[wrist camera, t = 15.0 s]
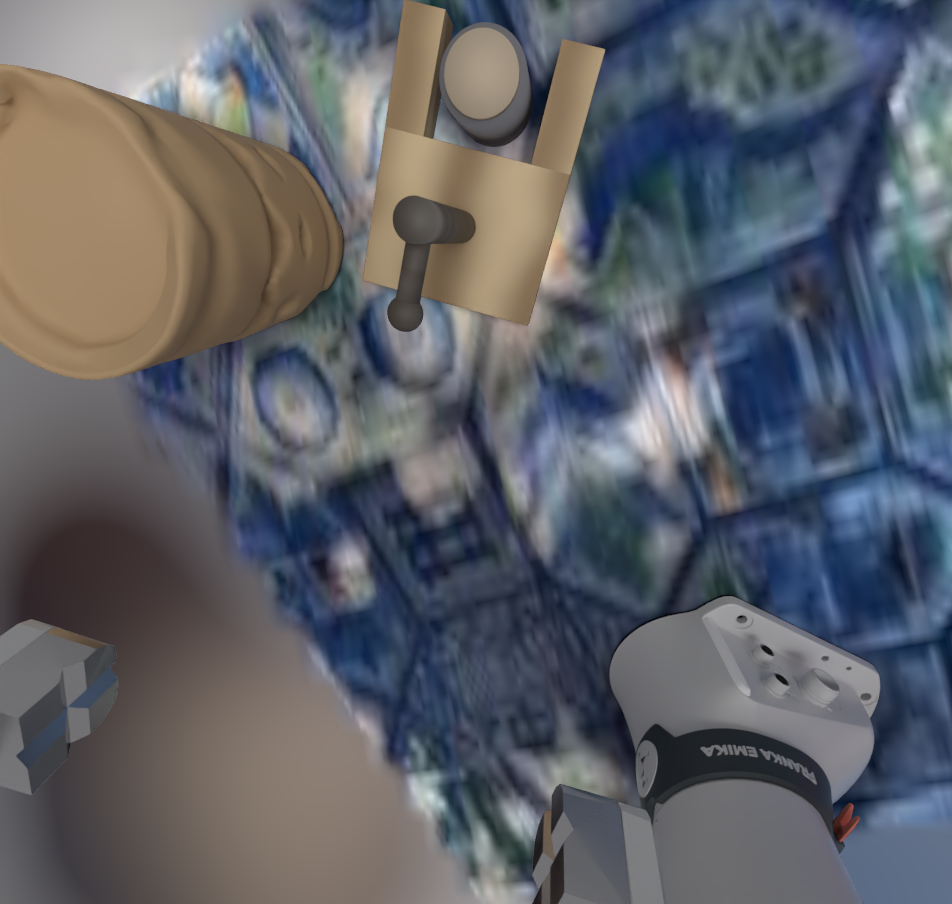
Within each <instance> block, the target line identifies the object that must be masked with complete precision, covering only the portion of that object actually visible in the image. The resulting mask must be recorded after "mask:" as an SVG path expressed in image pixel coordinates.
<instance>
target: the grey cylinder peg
mask: <svg viewBox="0 0 952 904" xmlns="http://www.w3.org/2000/svg"><path fill="white" fill-rule="evenodd" d="M439 83H440V90H441V95H442V98H443V101H444V103H445V105H446V107H447V108H448V110H449V112H450V113H451V114H452V115H453V116H454V118H455V119H456V120H457V121H458V122H459V123H460V125H461V126H462V127H463V128H464V129H465V131H466V132H467V133H468V134H469V135H470V136H471V137H472V138H473V139H474V140H475V141H477V142H478V143H480V144H483V145H486V146H490V147H497V146H503V145H506V144H508V143H510V142H512V141H513V140H515V139H516V138H517V137H518V136H519V135H520V134H521V133H522V132H523V130H524V129H525V127H526V125H527V124H528V121H529V119H530V116H531V112H532V104H533V97H532V90H531V85H530V79H529V74H528V68H527V63H526V58H525V55H524V52H523V50H522V47H521V45H520V44H519V42H518V40H517V39H516V38H515V36H514V35H513V34H512V33H511V32H509V31H508V30H507V29H505V28H504V27H502V26H500V25H497V24H494V23H488V22H482V23H476V24H473V25H470V26H468V27H466V28H464V29H463V30H462V31H460V32H459V33H458V34H457V35H456V36H455V37H454V38H453V39H452V40H451V42H450V43H449V45H448V46H447V48H446V50H445V52H444V55H443V58H442V61H441V65H440V72H439Z"/></svg>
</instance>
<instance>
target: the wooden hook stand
mask: <svg viewBox="0 0 952 904" xmlns="http://www.w3.org/2000/svg"><path fill="white" fill-rule="evenodd" d="M452 31H453V24H452V22H451V20H450V18H449V16H448V14H447V12H446V10H445V9H441V8H437V7H433V6H429V5H425V4H421V3H417V2H413V1H409V0H404V3H403V10H402V17H401V23H400V30H399V37H398V44H397V51H396V57H395V64H394V71H393V78H392V85H391V91H390V98H389V105H388V112H387V119H386V125H385V132H384V139H383V146H382V153H381V159H380V166H379V173H378V180H377V186H376V193H375V200H374V207H373V214H372V220H371V227H370V234H369V241H368V248H367V254H366V261H365V268H364V275H363V281H367V282H371V283H374V284H378V285H382V286H385V287H389V288H392V289H396V290H397V294H396V298H395V299H393V300H392V301H391V303H390V304H389V307H388V311H387V314H388V319H389V321H390V323H391V325H392V326H393V327H394V328H396V329H397V330H399V331H403V332H409V331H412V330H415V329H416V328H417V327H418V326H419V325H420V324H421V322H422V319H423V309H422V306H421V304H420V299H421V296H422V297H425V298H429V299H433V300H436V301H440V302H444V303H447V304H451V305H454V306H458V307H462V308H465V309H469V310H473V311H476V312H480V313H484V314H487V315H491V316H495V317H498V318H502V319H505V320H509V321H513V322H516V323H520V324H524V325H527V326H528V324H529V321H530V317H531V314H532V310H533V307H534V303H535V300H536V296H537V292H538V289H539V285H540V282H541V278H542V275H543V271H544V268H545V264H546V260H547V257H548V253H549V250H550V246H551V243H552V239H553V236H554V232H555V228H556V225H557V221H558V218H559V214H560V211H561V207H562V204H563V200H564V196H565V193H566V189H567V186H568V182H569V179H570V175H571V172H572V168H573V164H574V161H575V157H576V154H577V150H578V147H579V143H580V139H581V136H582V132H583V129H584V125H585V122H586V118H587V115H588V111H589V107H590V104H591V100H592V97H593V93H594V90H595V86H596V83H597V79H598V75H599V72H600V68H601V65H602V61H603V57H604V53H605V49H602V48H598V47H594V46H590V45H586V44H582V43H578V42H574V41H570V40H566V39H563V40H562V44H561V48H560V52H559V56H558V60H557V64H556V68H555V72H554V76H553V80H552V84H551V88H550V92H549V96H548V100H547V103H546V107H545V111H544V115H543V119H542V123H541V127H540V131H539V135H538V139H537V143H536V147H535V151H534V155H533V159H532V163H531V164H527V163H523V162H519V161H515V160H512V159H508V158H504V157H500V156H496V155H492V154H489V153H485V152H481V151H477V150H473V149H469V148H466V147H462V146H458V145H454V144H450V143H446V142H443V141H439V140H435V139H433V136H434V131H435V125H436V120H437V114H438V109H439V103H440V98H441V90H440V83H439V72H440V65H441V61H442V58H443V55H444V52H445V50H446V48H447V46H448V45H449V43H450V42H451V37H452Z"/></svg>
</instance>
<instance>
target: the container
mask: <svg viewBox="0 0 952 904" xmlns="http://www.w3.org/2000/svg"><path fill="white" fill-rule="evenodd" d="M343 251H344V240H343V231H342V227H341V226H340V225H339V224H338V222H337V220H336V218H335V215H334V212H333V210H332V208H331V206H330V204H329V202H328V200H327V198H326V196H325V194H324V193H323V191H322V189H321V188H320V186H319V185H318V183H317V181H316V180H315V179H314V177H313V176H312V175H311V174H310V171H309V169H308V168H307V167H306V165H305V164H304V163H302V162H301V161H299V160H298V159H297V158H296V157H294V156H293V155H291V154H290V153H288V152H286V151H284V150H282V149H280V148H277V147H275V146H272V145H269V144H266V143H263V142H260V141H256V140H254V139H251V138H248V137H245V136H242V135H239V134H236V133H233V132H230V131H227V130H224V129H220V128H217V127H214V126H211V125H208V124H206V123H203V122H200V121H196V120H193V119H190V118H187V117H184V116H181V115H178V114H175V113H172V112H169V111H166V110H163V109H160V108H157V107H154V106H151V105H148V104H145V103H142V102H139V101H136V100H133V99H130V98H127V97H124V96H121V95H118V94H115V93H112V92H108V91H105V90H102V89H98V88H95V87H93V86H90V85H87V84H84V83H81V82H78V81H75V80H71V79H68V78H65V77H62V76H58V75H55V74H51V73H48V72H44V71H40V70H35V69H30V68H25V67H20V66H14V65H5V64H0V343H1V344H3V345H4V346H5V347H7V348H8V349H10V350H11V351H12V352H14V353H15V354H17V355H18V356H20V357H22V358H23V359H25V360H27V361H28V362H30V363H32V364H34V365H37V366H39V367H41V368H43V369H46V370H48V371H51V372H54V373H56V374H59V375H63V376H67V377H71V378H77V379H83V380H97V379H106V378H112V377H118V376H122V375H127V374H130V373H134V372H137V371H140V370H143V369H146V368H149V367H152V366H155V365H158V364H160V363H163V362H168V361H172V360H175V359H178V358H182V357H185V356H188V355H191V354H194V353H197V352H200V351H202V350H205V349H209V348H212V347H214V346H217V345H220V344H223V343H227V342H232V341H236V340H239V339H242V338H245V337H247V336H250V335H253V334H255V333H257V332H260V331H262V330H264V329H266V328H268V327H270V326H272V325H275V324H277V323H279V322H282V321H285V320H288V319H290V318H292V317H295V316H297V315H298V314H300V313H301V312H302V311H303V310H304V309H305V308H306V307H307V306H308V305H309V304H310V303H311V302H312V301H313V299H315V298H316V296H317V295H318V294H319V293H320V292H322V291H324V290H327V289H328V288H329V287H330V285H331V284H332V283H333V281H334V279H335V277H336V275H337V273H338V271H339V269H340V265H341V259H342V255H343Z"/></svg>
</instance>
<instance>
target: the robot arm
mask: <svg viewBox="0 0 952 904" xmlns="http://www.w3.org/2000/svg"><path fill="white" fill-rule="evenodd" d="M741 615H744V616H743V617H741V618H737V617H738V616H741ZM116 660H117V659H116V650H115V647H114V646H111V645H108V644H105V643H102V642H99V641H96V640H93V639H90V638H87V637H84V636H81V635H78V634H75V633H72V632H69V631H66V630H63V629H61V628H58V627H55V626H51V625H48V624H45V623H42V622H39V621H36V620H32V619H31V620H28V621H25V622H22V623H19V624H17V625H16V626H14V627H13V628H11V629H10V630H9V631H7V632H6V633H4V634H3V635H1V636H0V786H2V787H5V788H9V789H12V790H16V791H19V792H23V793H26V794H29V795H32V794H33V793H34V792H35V791H36V790H37V789H38V788H39V787H40V786H41V785H42V784H43V783H44V782H45V781H46V780H47V779H48V778H49V777H50V776H51V775H52V774H53V772H54V771H55V770H56V769H57V768H58V767H59V766H60V765H61V764H62V763H63V762H64V761H65V760H66V759H67V758H68V755H69V749H70V745H71V742H74V741H76V740H78V739H80V738H82V737H84V736H87V735H89V734H91V733H92V732H93V730H94V729H95V728H96V727H97V726H98V725H99V724H100V723H101V722H102V721H103V720H104V718H105V717H106V715H107V713H108V711H109V710H110V708H111V707H112V705H113V703H114V702H115V698H116V695H117V691H118V678H117V677H116V676H115V674H114V673H113V671H112V670H111V669H110V667H111V665H113V664H114V663H115V662H116ZM609 677H610V684H611V688H612V691H613V693H614V695H615V697H616V699H617V701H618V703H619V705H620V707H621V709H622V711H623V714H624V716H625V719H626V721H627V724H628V727H629V730H630V734H631V737H632V740H633V744H634V747H635V751H636V756H635V759H636V777H637V786H638V791H639V795H640V802H641V808H642V809H641V808H637V807H634V806H630V805H627V804H623V803H620V802H616V801H615V800H614V799H610V798H607V797H604V796H600V795H597V794H593V793H590V792H586V791H583V790H580V789H576V788H573V787H569V786H566V785H562V784H559V785H558V786H557V787H556V788H555V790H554V792H553V795H552V806H551V809H550V810H548V811H546V812H544V814H543V816H542V819H541V821H540V823H539V826H538V830H537V835H536V839H535V844H534V853H533V866H532V876H533V878H534V880H535V882H536V884H537V886H538V889H539V890H538V893H537V895H536V897H535V899H534V901H533V903H532V904H863V903H862V900H861V898H860V896H859V894H858V892H857V890H856V888H855V886H854V884H853V882H852V880H851V878H850V876H849V874H848V871H847V869H846V867H845V865H844V863H843V861H842V859H841V857H840V855H839V854H840V853H841V851H842V850H843V848H844V847H845V845H844V843H843V840H844V839H845V838H846V837H847V836H848V835H849V834H850V832H851V831H852V830H853V829H854V828H855V826H856V825H857V823H858V822H859V820H860V817H859V816H856V817H854V818H853V819H852V820H851V821H849V820H850V819H851V816H852V812H853V808H854V806H853V804H851V803H849V804H847V805H846V807H845V808H844V809H843V810H842V811H841V813H840V814H839V815H838V816H837V817H836V818H835V820H834V821H833V808H832V804H833V803H835V802H836V801H837V800H838V799H840V798H841V797H842V796H843V795H844V794H845V793H846V792H847V791H848V790H849V789H850V788H851V786H852V785H853V784H854V783H855V782H856V780H857V779H858V778H859V777H860V775H861V774H862V772H863V771H864V769H865V768H866V766H867V764H868V762H869V760H870V757H871V754H872V751H873V747H874V731H873V726H872V723H871V720H870V717H871V716H872V714H873V712H874V710H875V707H876V705H877V702H878V698H879V694H880V678H879V674H878V672H877V671H876V669H875V667H874V666H873V665H872V664H870V663H868V662H867V661H865V660H863V659H861V658H859V657H857V656H855V655H853V654H851V653H849V652H846V651H844V650H842V649H840V648H838V647H836V646H834V645H832V644H830V643H828V642H826V641H824V640H822V639H820V638H818V637H816V636H814V635H812V634H810V633H808V632H806V631H804V630H802V629H799V628H797V627H795V626H793V625H791V624H789V623H787V622H785V621H783V620H781V619H779V618H777V617H775V616H773V615H771V614H769V613H767V612H765V611H763V610H761V609H759V608H757V607H755V606H753V605H750V604H748V603H746V602H744V601H742V600H740V599H738V598H736V597H732V596H724V597H720V598H718V599H715V600H713V601H711V602H709V603H707V604H706V605H704V606H702V607H700V608H699V609H697V610H694V611H691V612H687V613H681V614H676V615H670V616H666V617H663V618H659V619H657V620H654V621H651V622H649V623H647V624H645V625H643V626H641V627H640V628H638V629H637V630H635V631H634V632H632V633H631V634H630V635H629V636H628V637H627V638H626V639H625V640H624V641H623V642H622V643H621V644H620V646H619V647H618V649H617V650H616V652H615V654H614V656H613V658H612V661H611V665H610V672H609Z"/></svg>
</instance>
